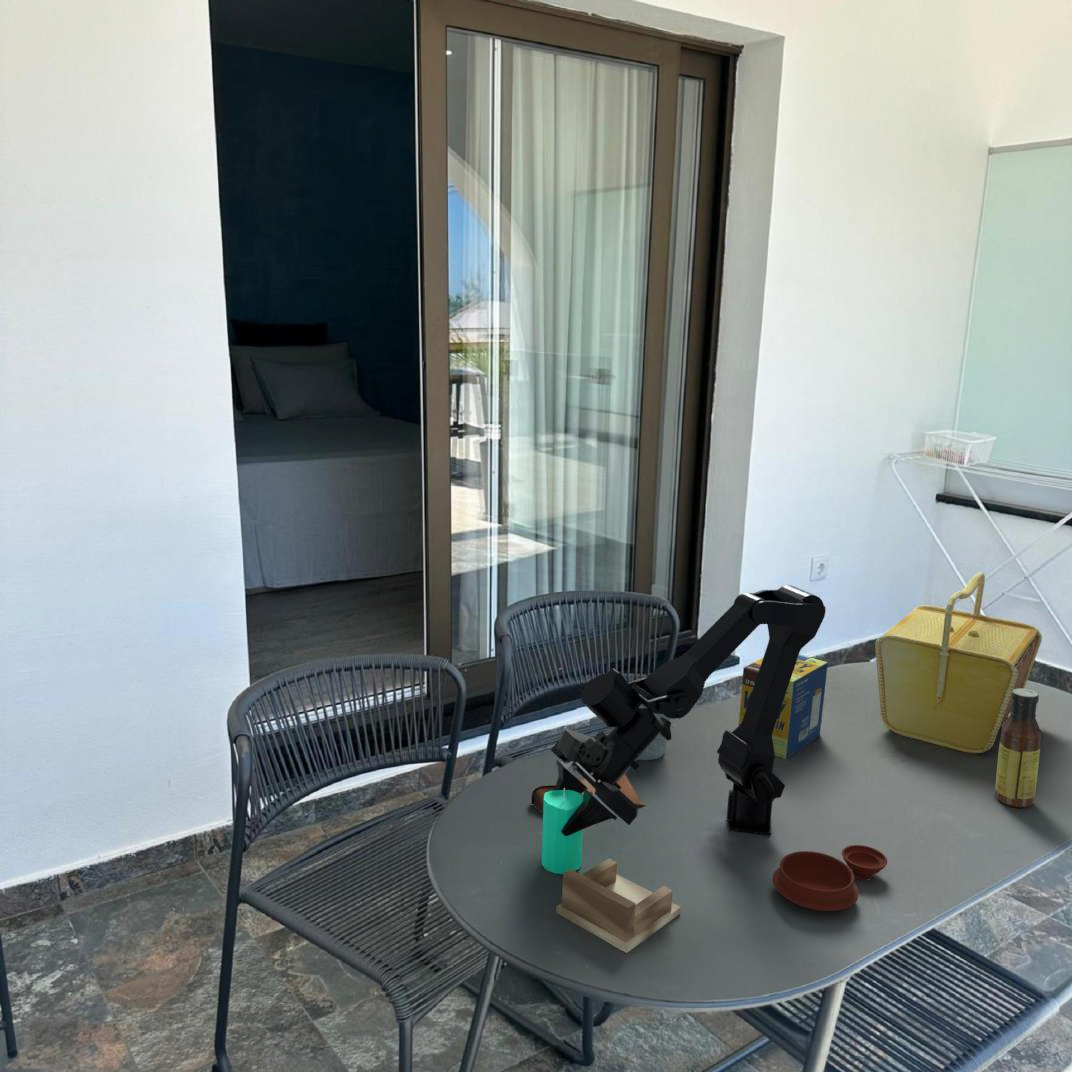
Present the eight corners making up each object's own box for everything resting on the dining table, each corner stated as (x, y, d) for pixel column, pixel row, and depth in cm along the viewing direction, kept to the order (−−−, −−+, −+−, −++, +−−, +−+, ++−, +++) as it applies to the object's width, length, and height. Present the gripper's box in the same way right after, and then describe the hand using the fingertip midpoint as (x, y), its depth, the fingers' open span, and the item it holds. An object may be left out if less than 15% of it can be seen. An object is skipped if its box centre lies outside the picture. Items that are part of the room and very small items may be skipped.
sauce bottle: (1032, 797, 169) (1049, 689, 164) (1034, 812, 163) (1051, 702, 159) (991, 788, 171) (1007, 682, 167) (991, 803, 166) (1007, 694, 161)
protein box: (735, 743, 186) (742, 667, 183) (773, 719, 198) (779, 647, 194) (786, 760, 180) (793, 681, 176) (821, 735, 191) (829, 660, 188)
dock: (611, 877, 140) (613, 840, 139) (680, 913, 132) (683, 873, 131) (556, 912, 131) (557, 873, 130) (626, 953, 124) (629, 911, 122)
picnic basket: (904, 688, 218) (920, 559, 211) (1030, 718, 203) (1052, 580, 196) (863, 730, 194) (879, 586, 188) (1002, 767, 180) (1025, 613, 173)
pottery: (753, 890, 138) (756, 862, 137) (843, 850, 150) (846, 824, 149) (819, 933, 129) (823, 904, 128) (910, 887, 140) (913, 860, 139)
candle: (535, 868, 142) (537, 793, 139) (550, 848, 147) (552, 775, 145) (573, 878, 140) (576, 801, 137) (587, 857, 145) (590, 783, 143)
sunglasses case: (554, 827, 153) (545, 784, 155) (536, 829, 159) (528, 788, 161) (649, 805, 161) (640, 764, 163) (628, 808, 167) (620, 769, 169)
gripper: (564, 689, 148) (496, 767, 146) (623, 738, 131) (546, 826, 130) (608, 730, 153) (542, 805, 151) (669, 782, 136) (596, 868, 134)
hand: (554, 824), depth 141 cm, fingers closed on candle, 5 cm apart
